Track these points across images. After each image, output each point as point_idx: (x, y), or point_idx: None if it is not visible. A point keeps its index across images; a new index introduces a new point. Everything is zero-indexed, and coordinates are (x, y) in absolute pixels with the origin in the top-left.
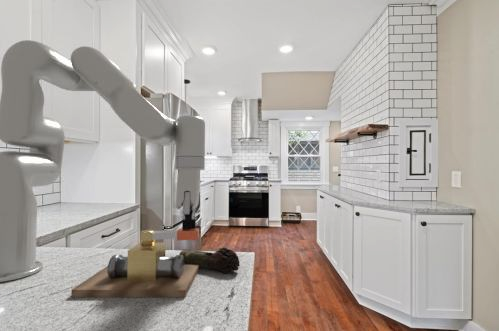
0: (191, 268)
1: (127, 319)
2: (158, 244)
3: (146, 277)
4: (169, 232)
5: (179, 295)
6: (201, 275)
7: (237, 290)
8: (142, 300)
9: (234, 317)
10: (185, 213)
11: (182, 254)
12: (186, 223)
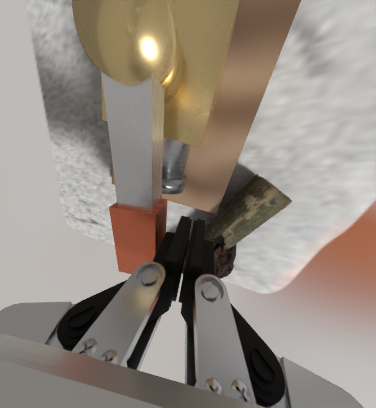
0: (198, 199)
1: (57, 99)
2: (177, 120)
3: None
4: (114, 173)
5: None
6: (191, 210)
7: None
8: None
9: (78, 224)
10: (1, 317)
11: (259, 189)
12: (154, 261)
